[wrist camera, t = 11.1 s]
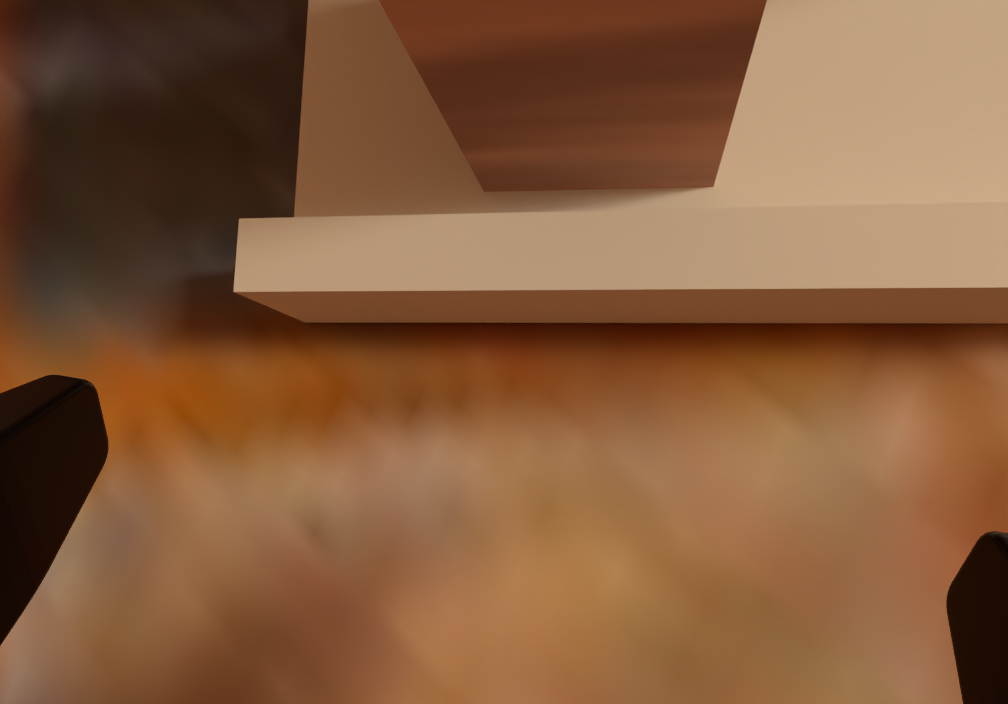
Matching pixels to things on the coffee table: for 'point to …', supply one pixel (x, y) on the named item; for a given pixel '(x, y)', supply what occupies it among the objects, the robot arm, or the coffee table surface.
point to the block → (583, 86)
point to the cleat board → (665, 190)
